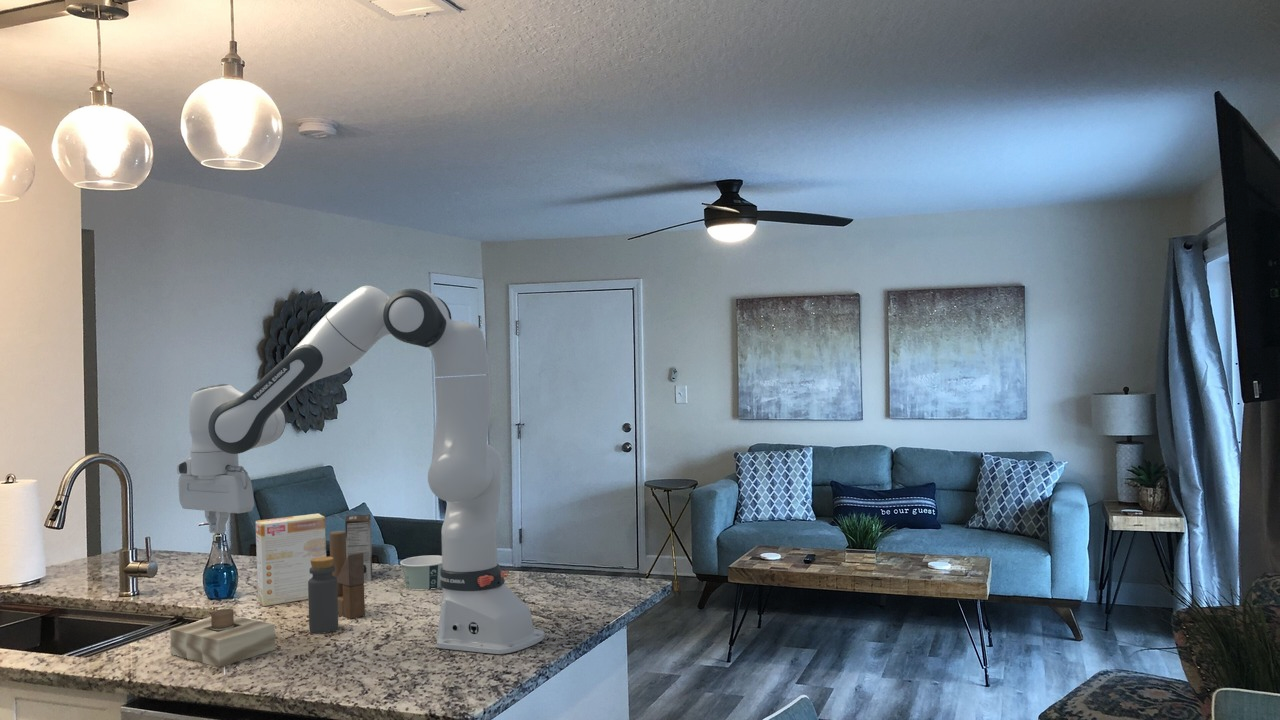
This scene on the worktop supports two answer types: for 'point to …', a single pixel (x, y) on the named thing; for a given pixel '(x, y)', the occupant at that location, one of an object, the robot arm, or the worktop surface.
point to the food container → (422, 571)
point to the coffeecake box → (287, 556)
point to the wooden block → (347, 577)
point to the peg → (222, 620)
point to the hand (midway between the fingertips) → (217, 532)
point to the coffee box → (360, 540)
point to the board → (222, 641)
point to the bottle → (322, 596)
